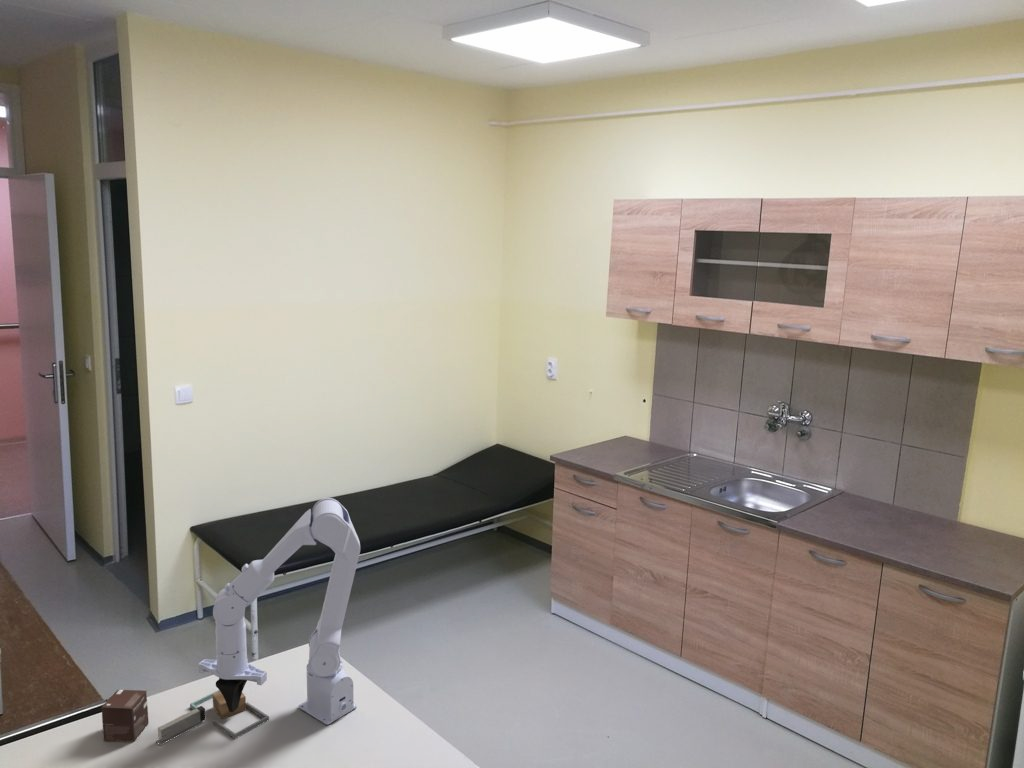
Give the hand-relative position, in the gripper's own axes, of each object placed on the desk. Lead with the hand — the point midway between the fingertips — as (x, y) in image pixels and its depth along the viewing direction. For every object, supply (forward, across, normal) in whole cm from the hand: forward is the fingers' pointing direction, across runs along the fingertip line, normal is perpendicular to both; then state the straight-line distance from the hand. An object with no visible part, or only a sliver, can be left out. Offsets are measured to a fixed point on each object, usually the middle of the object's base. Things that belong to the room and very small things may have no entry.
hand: (233, 709), depth 153 cm
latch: (+2, +7, +7) cm, 10 cm away
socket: (+2, +1, +5) cm, 5 cm away
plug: (+2, +3, -2) cm, 4 cm away
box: (+2, +17, +10) cm, 20 cm away
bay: (+2, +7, -3) cm, 8 cm away
